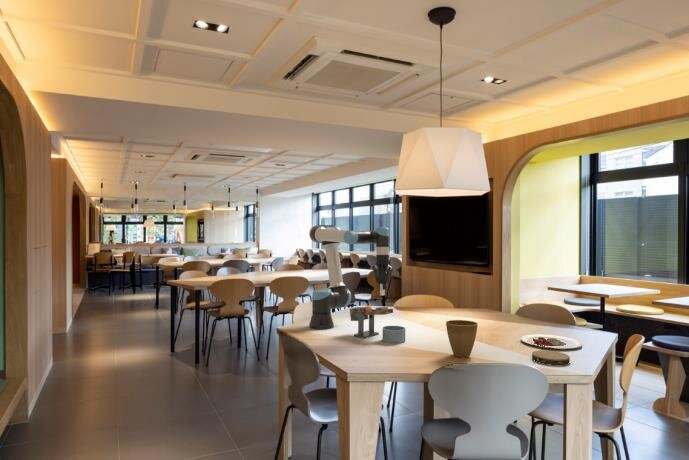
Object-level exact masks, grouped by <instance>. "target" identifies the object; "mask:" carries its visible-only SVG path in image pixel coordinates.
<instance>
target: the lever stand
mask: <svg viewBox="0 0 689 460" xmlns="http://www.w3.org/2000/svg"><path fill="white" fill-rule="evenodd" d="M364 322H365V320H364V313H358V321H357V323H358V324H357V333H354V334H353V337H355V338H361V339H369V338H371V337H375V336H379V335H380V334H379V332H377V331H375V315H368V330H365V329H364V328H365V326H364V325H365V324H364Z"/></svg>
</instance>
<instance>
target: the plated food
mask: <svg viewBox="0 0 689 460" xmlns="http://www.w3.org/2000/svg"><path fill="white" fill-rule="evenodd" d="M531 338H533V341H534V344H537V345H535V346H534V347H537V346H539V345H540V346H539V347H538V348H542V347H545V346H564V345H566V343H564V342H561V341H560V340H557V339H562V340H567V341H571V342H574V343H575V344H576V346H574V347H571V348H554V347H545V348H544V349H548V348H554V349H553V350H570V349H578V348H580V347H582V346H583V343H582V342H581V341H579V340H576V339H574V338H570V337H567V336H561V335H554V334H539V333H538V334H537V333H536V334H527V335H522V336H521V337H520V341H522V342H523V343H526V344H529V345H531V346H533V345H534V344H531V343H529V342H527V340H528V339H531ZM534 338H538V339H534ZM545 338H548V339H547V340H546V339H545ZM543 345H544V346H543Z"/></svg>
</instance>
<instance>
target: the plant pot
mask: <svg viewBox="0 0 689 460" xmlns="http://www.w3.org/2000/svg"><path fill="white" fill-rule="evenodd" d="M478 324H479V323H478V322H476V321H473V320H463V319H450V320H447V321H445V326H446V332H447V337H448V342H449V345H450V349H451V351H452V354H453V356H454V357H456V358H463V359H464V358H470V356H471V354H472V351H473V349H474V346H475V345H474V344H475V340H476V337H477V332H478Z"/></svg>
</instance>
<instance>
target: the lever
mask: <svg viewBox="0 0 689 460" xmlns="http://www.w3.org/2000/svg"><path fill="white" fill-rule="evenodd" d="M365 308H366V306H356V307H351V308H349V316H350V321H351V322H358V313H364V321H366V320H369V315H374V316H376V315H377V316H378V315H379V316H380V315H382V316H383V315H386V316H387V315H389V314H393V313H394V308H389V306H386V305H385V306H384V305H383V306H379V307H375V309H373V308H372V311H366V310H365Z"/></svg>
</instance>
